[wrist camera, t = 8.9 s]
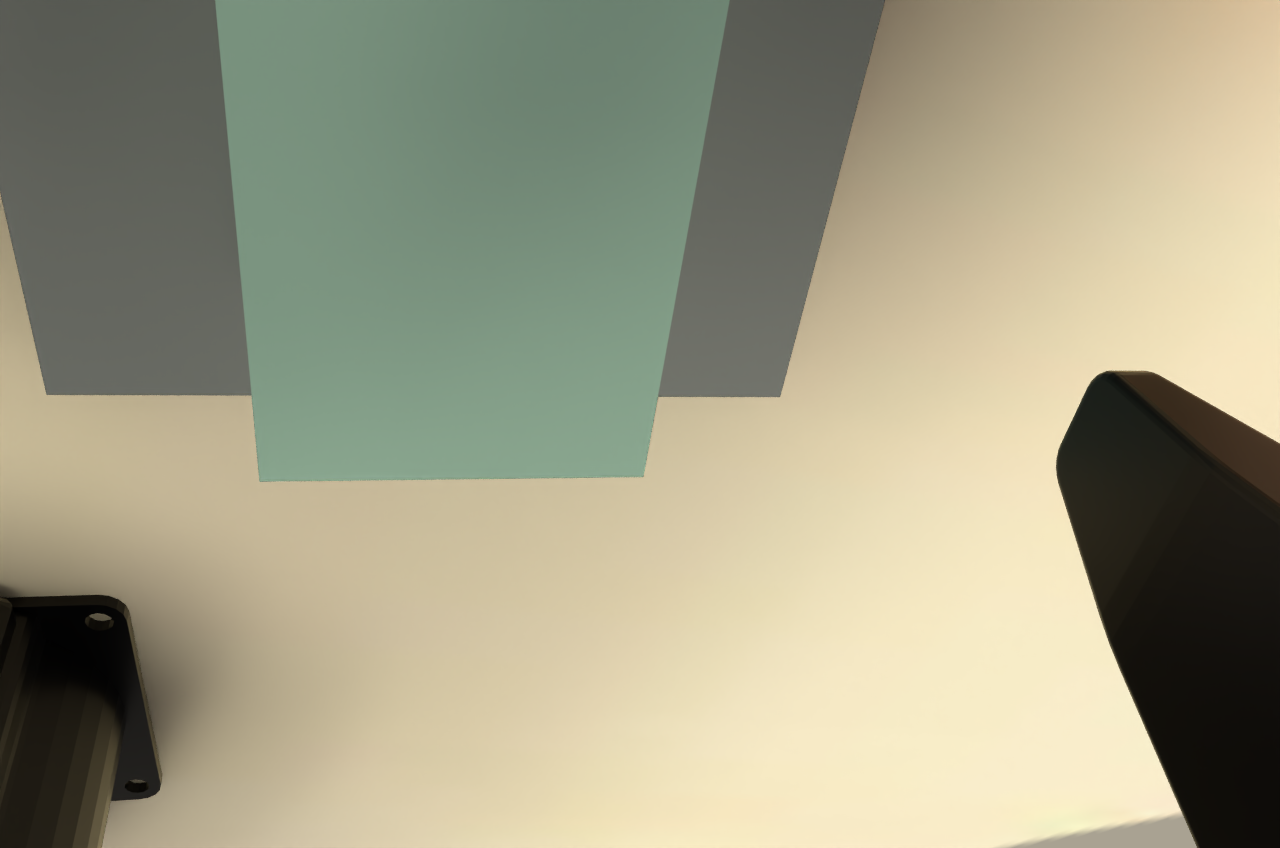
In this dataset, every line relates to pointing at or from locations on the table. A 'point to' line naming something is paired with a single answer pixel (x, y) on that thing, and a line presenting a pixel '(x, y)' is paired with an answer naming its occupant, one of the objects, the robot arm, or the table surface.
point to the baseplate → (205, 217)
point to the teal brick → (462, 227)
